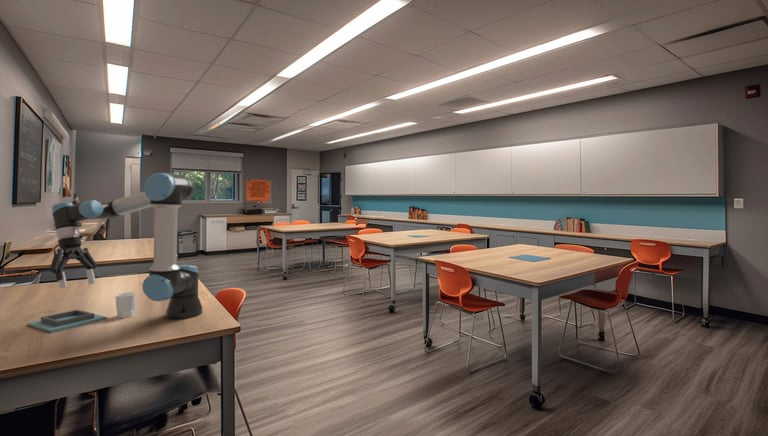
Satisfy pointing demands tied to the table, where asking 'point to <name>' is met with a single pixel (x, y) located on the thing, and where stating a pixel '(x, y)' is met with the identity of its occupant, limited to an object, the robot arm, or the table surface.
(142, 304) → the table surface
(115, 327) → the table surface
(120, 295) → the white cup
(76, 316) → the glass holder
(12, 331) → the table surface
